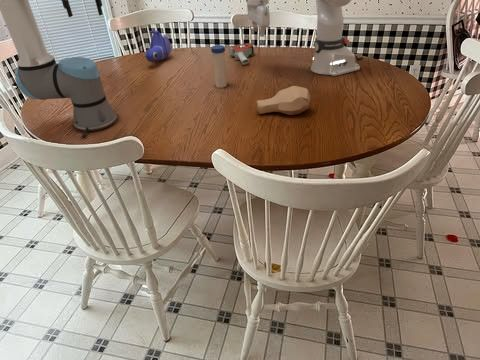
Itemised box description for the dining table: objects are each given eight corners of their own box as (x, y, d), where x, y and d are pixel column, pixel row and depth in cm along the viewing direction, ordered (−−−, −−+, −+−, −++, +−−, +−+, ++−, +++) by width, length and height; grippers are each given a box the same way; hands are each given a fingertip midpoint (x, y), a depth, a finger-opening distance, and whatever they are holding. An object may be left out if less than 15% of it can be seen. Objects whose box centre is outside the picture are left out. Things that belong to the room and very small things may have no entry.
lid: (208, 52, 147) (208, 48, 146) (216, 48, 151) (216, 44, 150) (220, 54, 145) (219, 49, 144) (227, 50, 149) (227, 45, 148)
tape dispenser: (245, 69, 176) (265, 54, 189) (245, 58, 173) (265, 44, 185) (216, 62, 184) (237, 49, 196) (215, 52, 180) (236, 39, 193)
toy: (159, 62, 200) (139, 68, 178) (155, 30, 193) (133, 32, 171) (176, 61, 198) (157, 67, 176) (172, 29, 191) (151, 31, 169)
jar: (213, 86, 156) (209, 49, 147) (219, 83, 159) (216, 45, 150) (222, 88, 154) (219, 50, 144) (228, 84, 157) (226, 47, 148)
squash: (314, 116, 128) (313, 95, 122) (259, 125, 130) (256, 105, 124) (308, 99, 136) (307, 78, 129) (257, 108, 138) (253, 88, 131)
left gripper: (102, -44, 147) (116, 12, 160) (44, -40, 148) (61, 15, 160) (96, -42, 141) (111, 15, 153) (35, -38, 142) (54, 19, 154)
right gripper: (273, 2, 142) (273, 38, 150) (258, -5, 158) (258, 27, 166) (258, 4, 141) (259, 40, 149) (244, -4, 157) (245, 29, 165)
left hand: (85, 15), depth 157 cm, fingers open, 13 cm apart
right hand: (258, 33), depth 158 cm, fingers open, 8 cm apart
